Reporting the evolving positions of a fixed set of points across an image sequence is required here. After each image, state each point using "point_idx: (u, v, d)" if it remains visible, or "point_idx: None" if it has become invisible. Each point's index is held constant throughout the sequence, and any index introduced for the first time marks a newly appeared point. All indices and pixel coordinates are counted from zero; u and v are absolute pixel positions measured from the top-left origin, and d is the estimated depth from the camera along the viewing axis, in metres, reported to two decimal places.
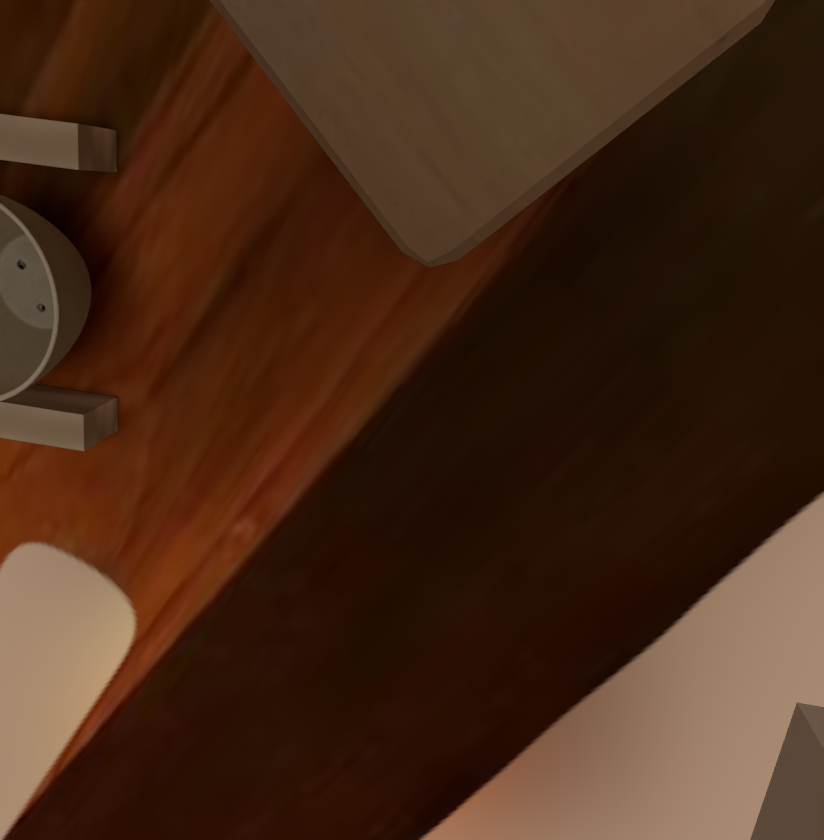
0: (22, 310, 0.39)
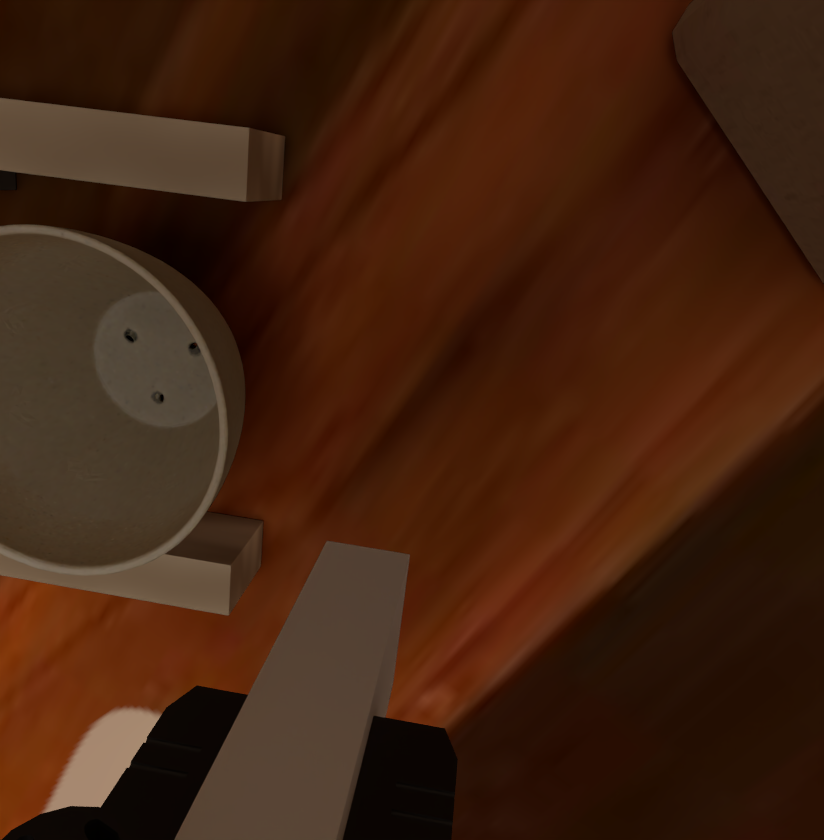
0: (130, 400, 0.27)
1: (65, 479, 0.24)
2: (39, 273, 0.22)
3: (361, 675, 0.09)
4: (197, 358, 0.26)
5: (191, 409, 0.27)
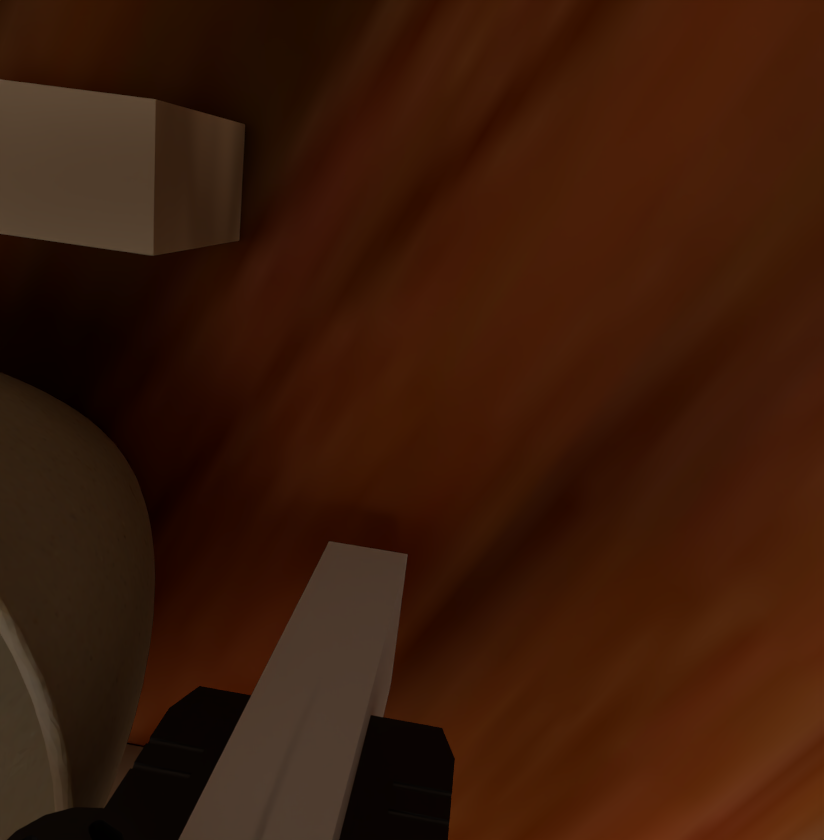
0: None
1: None
2: None
3: (358, 673, 0.09)
4: None
5: None
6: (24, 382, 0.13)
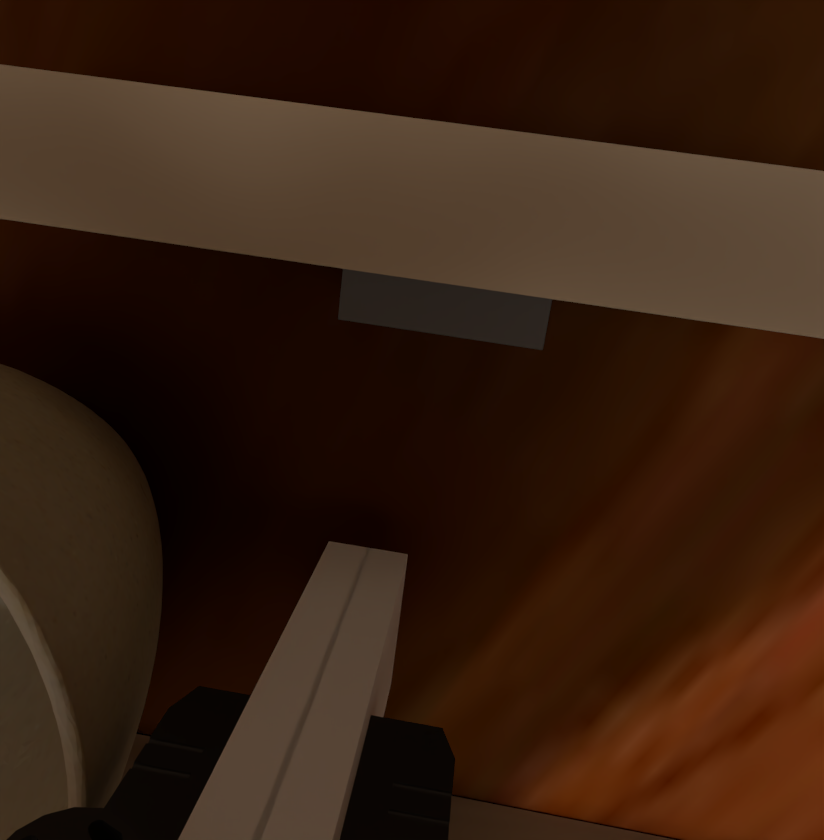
0: None
1: None
2: None
3: (358, 673, 0.09)
4: None
5: None
6: (38, 379, 0.13)
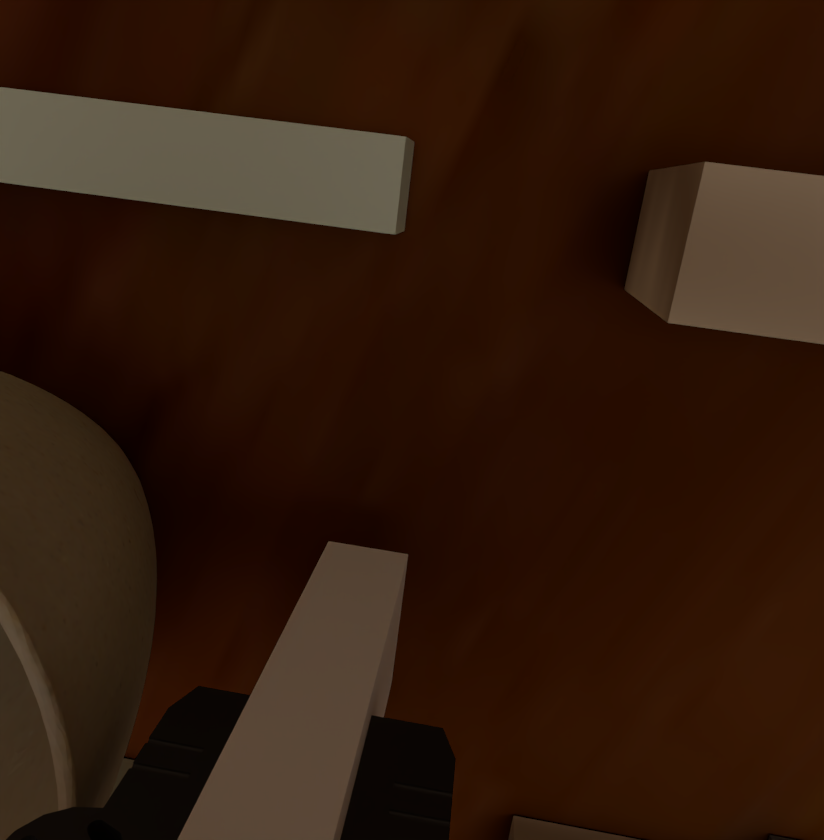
0: None
1: None
2: None
3: (358, 674, 0.09)
4: None
5: None
6: (31, 384, 0.13)
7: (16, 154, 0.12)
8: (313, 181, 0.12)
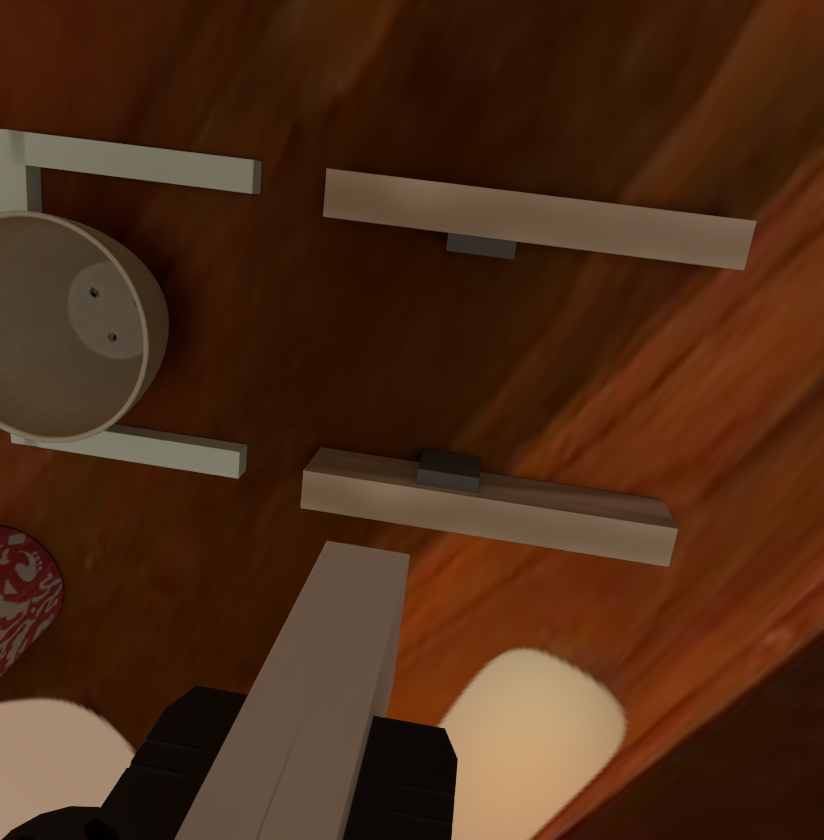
0: (92, 339, 0.38)
1: (44, 387, 0.35)
2: (31, 244, 0.33)
3: (361, 675, 0.09)
4: None
5: (135, 346, 0.38)
6: None
7: (119, 166, 0.34)
8: (223, 175, 0.34)
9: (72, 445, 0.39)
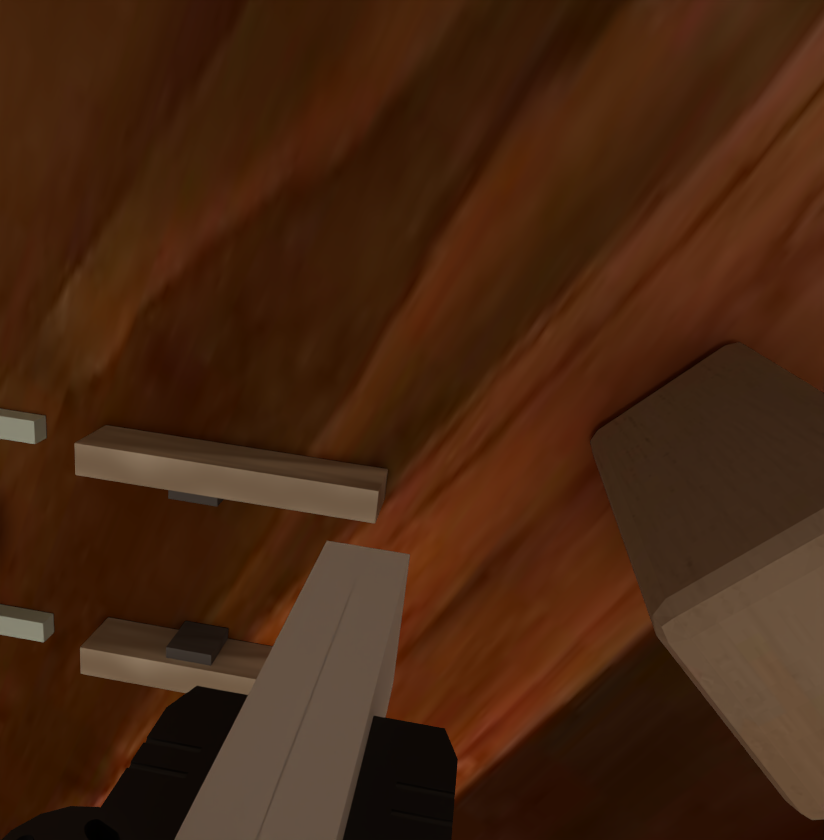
0: None
1: None
2: None
3: (361, 675, 0.09)
4: None
5: None
6: None
7: None
8: (12, 430, 0.45)
9: None
